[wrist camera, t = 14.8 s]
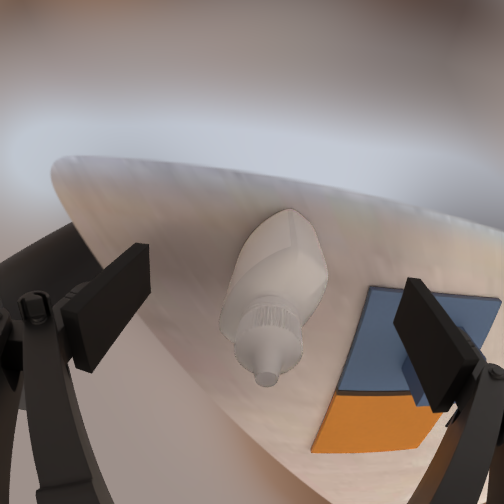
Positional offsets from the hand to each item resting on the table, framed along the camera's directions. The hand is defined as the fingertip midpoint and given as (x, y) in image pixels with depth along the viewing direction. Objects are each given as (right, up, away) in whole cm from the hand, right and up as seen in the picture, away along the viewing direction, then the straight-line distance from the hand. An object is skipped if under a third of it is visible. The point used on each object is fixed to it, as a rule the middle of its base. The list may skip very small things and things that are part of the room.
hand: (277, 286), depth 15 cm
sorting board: (+12, -11, +9) cm, 19 cm away
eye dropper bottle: (0, +2, +6) cm, 6 cm away
